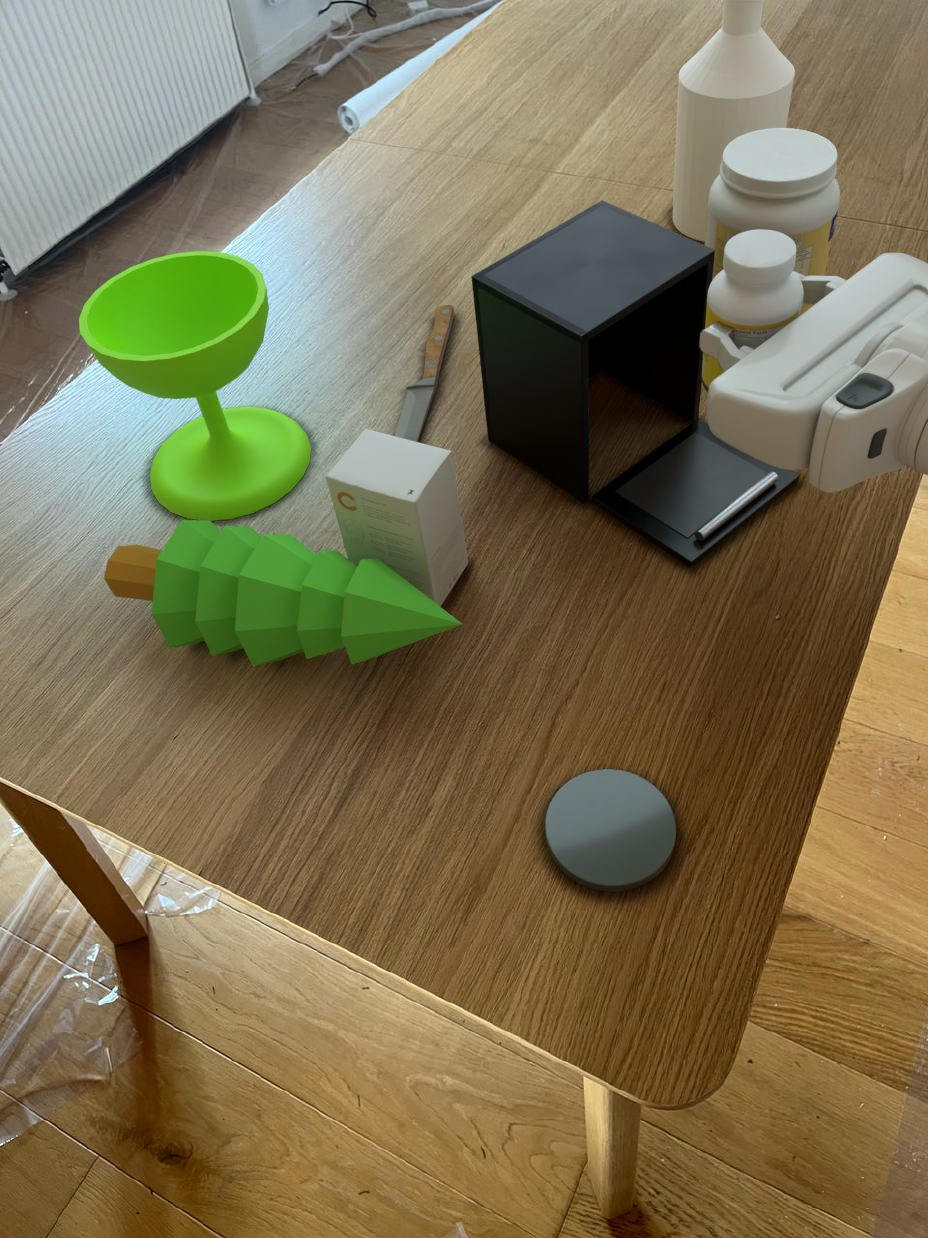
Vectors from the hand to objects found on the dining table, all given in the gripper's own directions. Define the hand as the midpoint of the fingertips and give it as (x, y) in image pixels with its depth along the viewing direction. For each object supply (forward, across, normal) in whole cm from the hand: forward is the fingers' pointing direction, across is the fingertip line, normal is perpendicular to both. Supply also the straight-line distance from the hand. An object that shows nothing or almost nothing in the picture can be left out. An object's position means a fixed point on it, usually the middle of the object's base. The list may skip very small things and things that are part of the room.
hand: (742, 308), depth 73 cm
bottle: (+32, -38, +22) cm, 55 cm away
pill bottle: (-1, 0, +7) cm, 7 cm away
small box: (+15, +23, +21) cm, 34 cm away
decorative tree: (+16, +35, +21) cm, 43 cm away
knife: (+32, +8, +21) cm, 39 cm away
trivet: (-14, +29, +21) cm, 38 cm away
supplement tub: (+17, -26, +22) cm, 38 cm away
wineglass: (+39, +26, +21) cm, 51 cm away
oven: (+10, -1, +21) cm, 24 cm away
